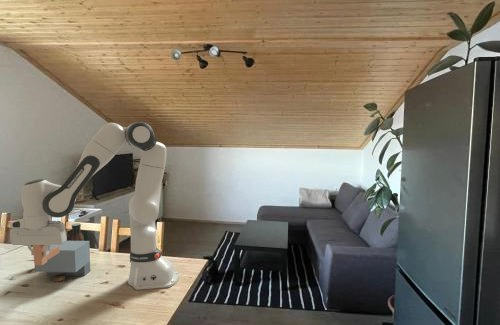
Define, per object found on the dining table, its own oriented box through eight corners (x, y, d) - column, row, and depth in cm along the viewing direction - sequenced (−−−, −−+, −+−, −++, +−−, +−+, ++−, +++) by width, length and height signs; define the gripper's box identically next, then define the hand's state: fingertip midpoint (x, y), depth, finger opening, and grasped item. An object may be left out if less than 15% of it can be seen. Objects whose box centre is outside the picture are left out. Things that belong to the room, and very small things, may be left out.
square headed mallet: (62, 252, 129) (60, 232, 128) (42, 265, 117) (40, 243, 116) (55, 252, 129) (53, 232, 128) (34, 265, 117) (32, 243, 116)
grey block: (90, 270, 144) (89, 240, 143) (76, 283, 132) (74, 250, 131) (53, 270, 144) (51, 240, 143) (35, 282, 132) (33, 250, 131)
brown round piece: (67, 278, 137) (67, 274, 137) (61, 283, 132) (61, 278, 132) (57, 278, 137) (57, 274, 137) (51, 283, 132) (51, 278, 132)
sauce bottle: (82, 257, 159) (81, 221, 158) (87, 260, 155) (86, 223, 154) (69, 261, 154) (67, 224, 153) (73, 264, 150) (72, 226, 149)
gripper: (68, 218, 120) (71, 251, 121) (18, 218, 120) (21, 251, 121) (58, 223, 113) (61, 258, 115) (5, 223, 114) (8, 258, 115)
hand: (40, 254), depth 118 cm, fingers closed on square headed mallet, 3 cm apart
